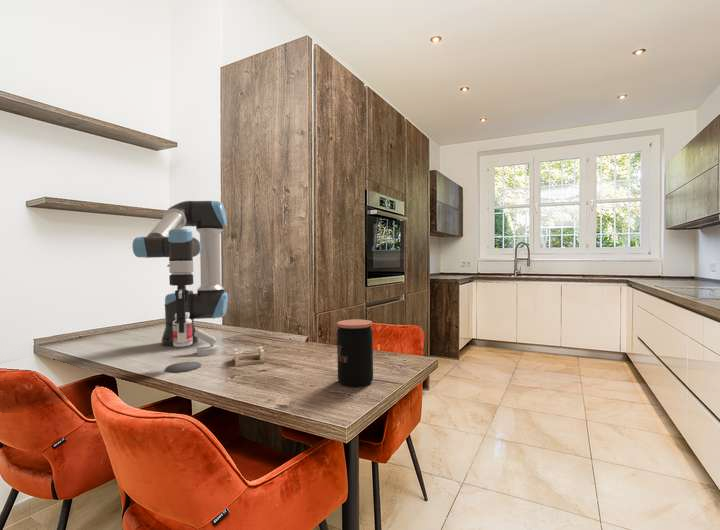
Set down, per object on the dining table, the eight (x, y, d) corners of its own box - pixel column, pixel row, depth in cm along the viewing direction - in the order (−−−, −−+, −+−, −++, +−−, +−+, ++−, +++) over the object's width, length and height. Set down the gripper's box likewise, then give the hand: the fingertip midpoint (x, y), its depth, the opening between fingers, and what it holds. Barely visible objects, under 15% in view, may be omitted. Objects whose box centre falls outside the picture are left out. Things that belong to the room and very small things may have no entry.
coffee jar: (337, 377, 120) (336, 319, 119) (371, 375, 121) (370, 318, 120) (338, 388, 109) (337, 325, 109) (375, 387, 110) (374, 324, 110)
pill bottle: (192, 342, 137) (191, 311, 137) (193, 345, 131) (192, 313, 131) (173, 344, 134) (172, 312, 134) (173, 347, 129) (172, 315, 129)
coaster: (168, 365, 136) (168, 363, 136) (201, 362, 140) (201, 360, 140) (164, 374, 126) (163, 372, 126) (200, 370, 130) (200, 368, 130)
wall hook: (201, 327, 159) (223, 327, 157) (202, 350, 159) (224, 350, 157) (188, 331, 151) (211, 331, 149) (189, 355, 151) (211, 356, 149)
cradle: (234, 358, 144) (234, 348, 144) (261, 356, 147) (261, 345, 147) (235, 366, 134) (235, 354, 134) (264, 362, 138) (264, 351, 138)
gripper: (172, 273, 140) (173, 336, 140) (165, 274, 122) (167, 346, 123) (194, 272, 143) (196, 334, 143) (191, 274, 125) (193, 344, 125)
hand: (182, 340), depth 133 cm, fingers closed on pill bottle, 6 cm apart
